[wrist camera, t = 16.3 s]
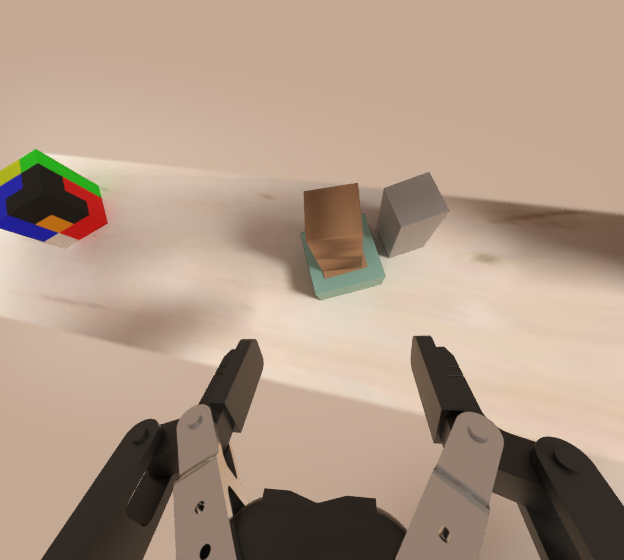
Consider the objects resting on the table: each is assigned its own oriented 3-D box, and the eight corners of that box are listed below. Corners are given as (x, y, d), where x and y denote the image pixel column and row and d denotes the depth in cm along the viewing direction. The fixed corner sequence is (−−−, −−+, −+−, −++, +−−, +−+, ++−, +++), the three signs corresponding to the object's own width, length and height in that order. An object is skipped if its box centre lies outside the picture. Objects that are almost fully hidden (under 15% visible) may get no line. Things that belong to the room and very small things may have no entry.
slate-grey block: (409, 217, 35) (429, 171, 25) (422, 246, 34) (449, 210, 24) (376, 228, 35) (383, 188, 26) (388, 258, 34) (401, 227, 24)
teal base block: (363, 229, 36) (364, 212, 31) (381, 284, 34) (385, 275, 29) (307, 246, 37) (300, 232, 32) (321, 300, 35) (315, 294, 30)
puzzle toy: (65, 248, 46) (-11, 225, 37) (59, 209, 49) (-13, 179, 40) (108, 223, 46) (42, 193, 36) (98, 186, 49) (35, 148, 39)
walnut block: (358, 231, 31) (357, 182, 21) (361, 267, 29) (363, 233, 20) (320, 235, 32) (303, 191, 22) (322, 271, 30) (305, 240, 21)
